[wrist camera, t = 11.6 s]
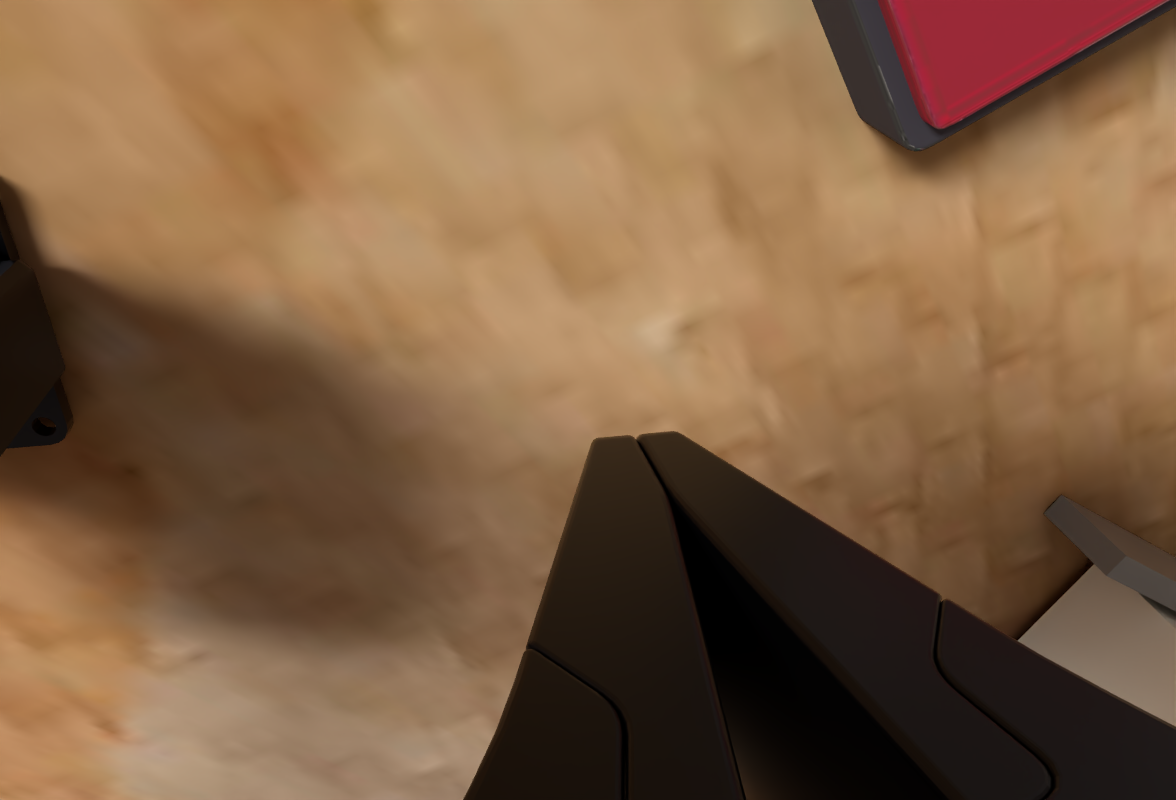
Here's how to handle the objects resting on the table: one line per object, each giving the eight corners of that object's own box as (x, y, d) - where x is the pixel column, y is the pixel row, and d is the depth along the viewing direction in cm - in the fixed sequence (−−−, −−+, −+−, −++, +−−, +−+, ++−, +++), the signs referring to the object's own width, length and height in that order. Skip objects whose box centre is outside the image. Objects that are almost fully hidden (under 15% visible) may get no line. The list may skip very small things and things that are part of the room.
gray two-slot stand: (727, 847, 34) (752, 924, 32) (1061, 494, 28) (1126, 556, 25) (887, 887, 38) (921, 961, 35) (1218, 580, 31) (1289, 642, 29)
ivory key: (997, 660, 31) (1175, 897, 24) (1101, 557, 29) (1327, 778, 22) (1070, 691, 32) (1259, 922, 25) (1173, 594, 31) (1407, 813, 23)
